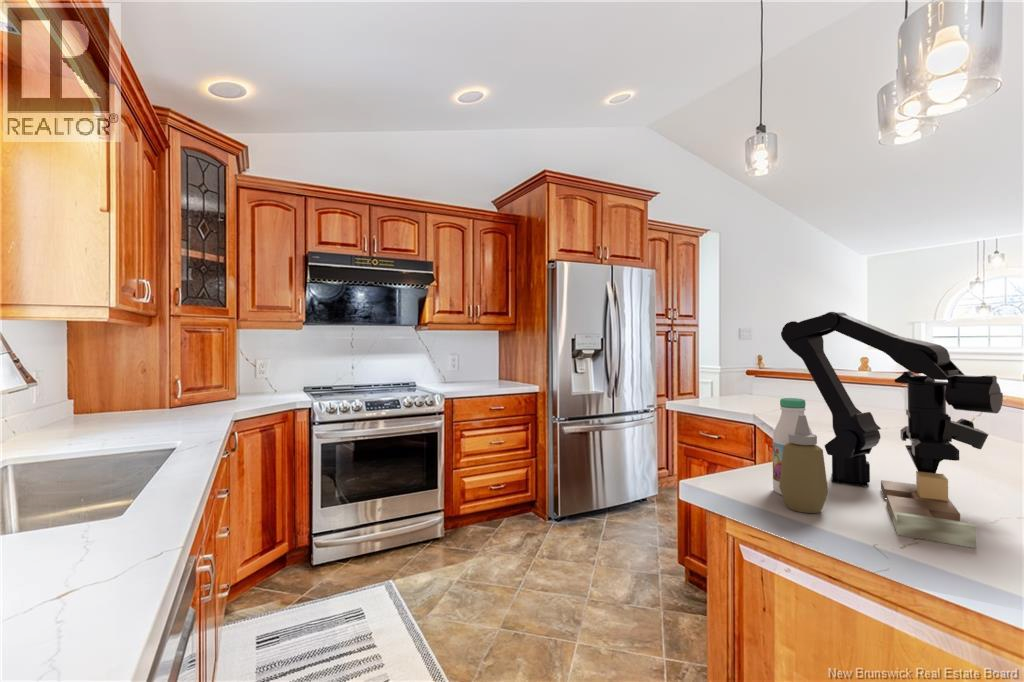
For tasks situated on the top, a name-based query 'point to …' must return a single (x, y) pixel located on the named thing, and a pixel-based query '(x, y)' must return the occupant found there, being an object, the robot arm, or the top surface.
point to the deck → (926, 516)
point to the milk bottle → (785, 433)
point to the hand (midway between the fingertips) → (927, 485)
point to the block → (932, 485)
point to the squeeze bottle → (803, 471)
